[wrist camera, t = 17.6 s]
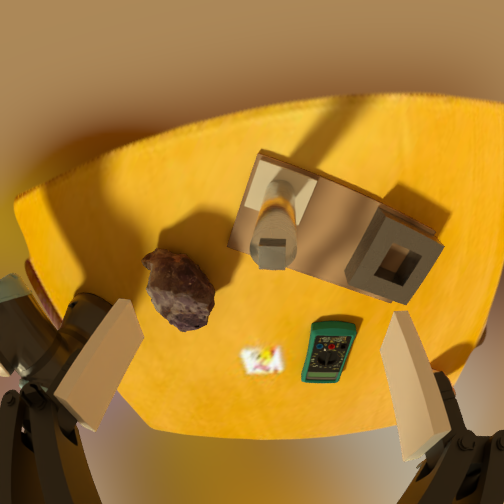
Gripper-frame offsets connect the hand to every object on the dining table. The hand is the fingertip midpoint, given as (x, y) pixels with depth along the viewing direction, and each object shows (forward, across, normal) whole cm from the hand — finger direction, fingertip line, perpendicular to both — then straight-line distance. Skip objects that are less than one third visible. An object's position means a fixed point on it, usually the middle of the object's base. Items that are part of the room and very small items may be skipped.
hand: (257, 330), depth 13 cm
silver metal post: (+22, 0, 0) cm, 22 cm away
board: (+23, +8, -6) cm, 25 cm away
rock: (+24, -13, -12) cm, 30 cm away
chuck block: (+22, +16, -8) cm, 28 cm away
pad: (+23, 0, 0) cm, 23 cm away
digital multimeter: (+24, +9, -28) cm, 38 cm away
